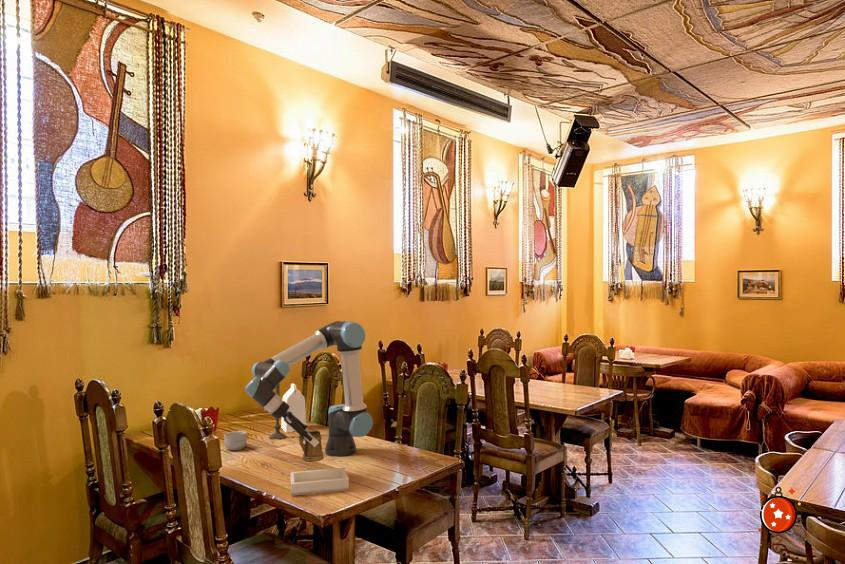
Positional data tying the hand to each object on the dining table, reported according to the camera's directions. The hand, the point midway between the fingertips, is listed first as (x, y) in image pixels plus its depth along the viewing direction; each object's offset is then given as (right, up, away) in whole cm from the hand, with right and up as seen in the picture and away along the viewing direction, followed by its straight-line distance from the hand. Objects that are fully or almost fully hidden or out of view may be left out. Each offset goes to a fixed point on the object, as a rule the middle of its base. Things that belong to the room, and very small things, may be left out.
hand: (316, 442), depth 239 cm
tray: (+4, -13, -16) cm, 21 cm away
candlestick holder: (-33, -16, +63) cm, 73 cm away
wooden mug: (-3, -7, -2) cm, 8 cm away
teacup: (-49, -16, +43) cm, 67 cm away
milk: (-29, -17, +82) cm, 89 cm away
